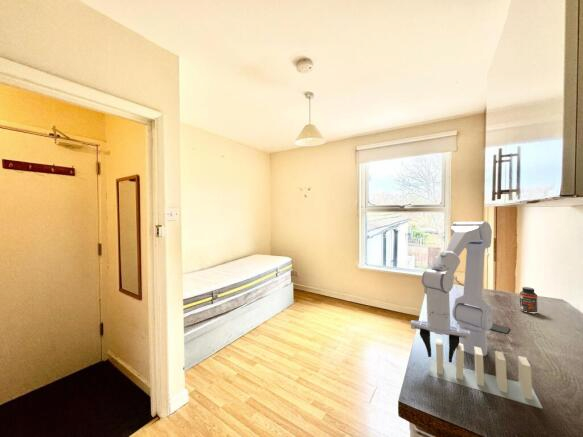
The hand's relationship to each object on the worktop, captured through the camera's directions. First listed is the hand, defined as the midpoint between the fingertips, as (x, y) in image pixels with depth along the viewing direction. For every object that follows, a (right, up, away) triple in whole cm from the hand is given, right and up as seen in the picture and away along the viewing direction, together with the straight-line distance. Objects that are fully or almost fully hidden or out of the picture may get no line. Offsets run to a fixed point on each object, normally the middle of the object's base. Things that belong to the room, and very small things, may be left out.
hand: (439, 358), depth 69 cm
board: (+7, -4, -5) cm, 10 cm away
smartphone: (+38, -5, +30) cm, 49 cm away
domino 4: (+15, -3, -10) cm, 18 cm away
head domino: (0, -3, 0) cm, 3 cm away
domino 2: (+8, -3, -5) cm, 10 cm away
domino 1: (+4, -3, -3) cm, 6 cm away
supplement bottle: (+69, -4, +43) cm, 82 cm away
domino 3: (+11, -3, -7) cm, 14 cm away
